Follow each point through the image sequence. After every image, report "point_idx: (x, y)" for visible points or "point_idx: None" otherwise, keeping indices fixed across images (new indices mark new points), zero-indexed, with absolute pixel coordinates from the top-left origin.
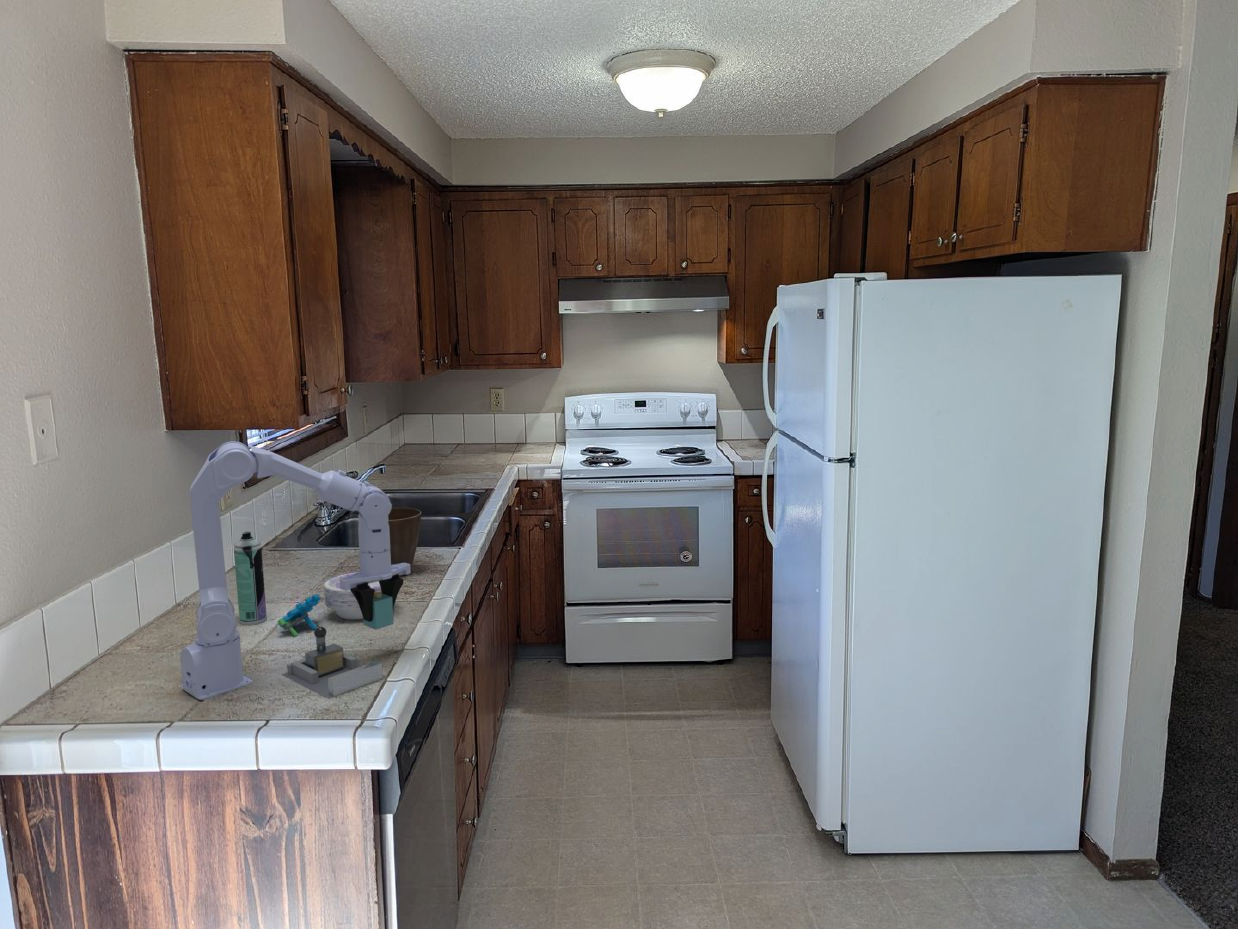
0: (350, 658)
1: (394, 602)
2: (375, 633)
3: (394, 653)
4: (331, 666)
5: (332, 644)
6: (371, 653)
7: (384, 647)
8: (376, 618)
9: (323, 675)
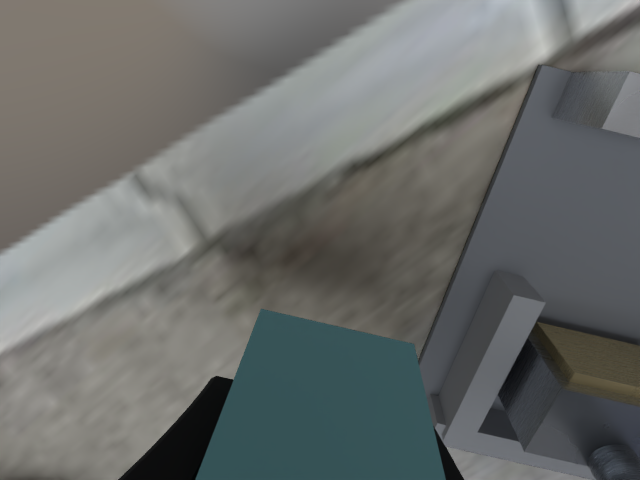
0: (525, 320)
1: (155, 458)
2: (158, 431)
3: (266, 247)
4: (601, 346)
5: (540, 451)
6: None
7: (239, 324)
8: (415, 408)
9: None
